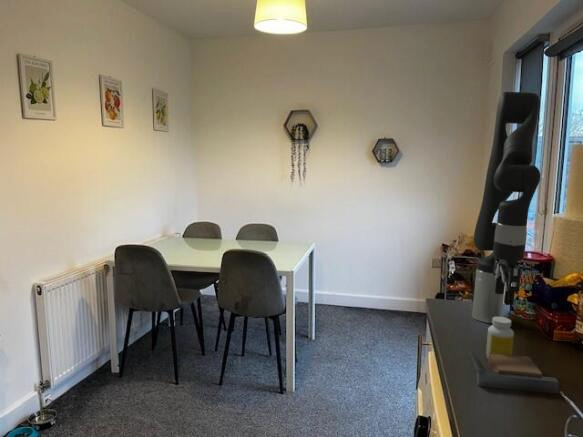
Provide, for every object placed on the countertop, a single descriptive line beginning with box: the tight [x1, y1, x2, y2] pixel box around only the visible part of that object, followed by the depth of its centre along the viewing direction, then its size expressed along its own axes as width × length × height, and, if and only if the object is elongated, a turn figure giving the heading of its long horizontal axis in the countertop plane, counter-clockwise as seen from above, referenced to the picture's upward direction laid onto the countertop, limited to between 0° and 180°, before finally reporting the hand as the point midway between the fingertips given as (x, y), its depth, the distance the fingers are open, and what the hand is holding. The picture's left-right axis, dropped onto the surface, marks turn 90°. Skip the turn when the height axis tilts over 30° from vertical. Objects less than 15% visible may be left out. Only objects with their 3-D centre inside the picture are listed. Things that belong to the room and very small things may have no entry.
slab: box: [487, 354, 543, 376], centre depth 113 cm, size 9×10×4 cm
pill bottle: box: [485, 316, 515, 360], centre depth 121 cm, size 6×6×12 cm
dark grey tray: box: [469, 351, 560, 394], centre depth 114 cm, size 16×18×3 cm
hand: (503, 299), depth 119 cm, fingers open, 8 cm apart
